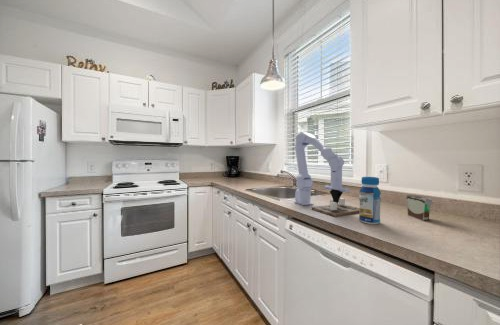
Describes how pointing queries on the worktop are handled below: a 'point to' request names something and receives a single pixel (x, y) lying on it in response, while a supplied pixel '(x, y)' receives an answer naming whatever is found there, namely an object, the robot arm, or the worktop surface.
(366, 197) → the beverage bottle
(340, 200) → the knob
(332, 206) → the knob
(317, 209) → the switch board
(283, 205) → the worktop surface
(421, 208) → the food container
